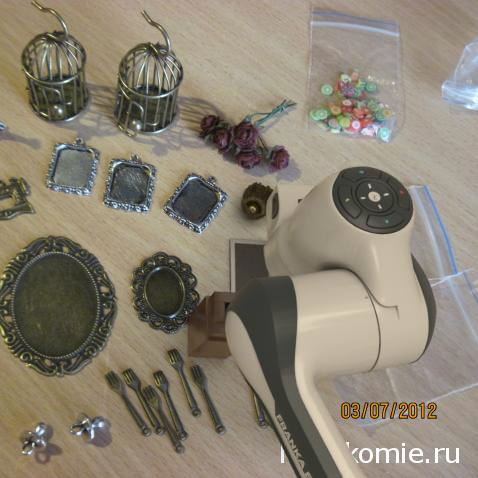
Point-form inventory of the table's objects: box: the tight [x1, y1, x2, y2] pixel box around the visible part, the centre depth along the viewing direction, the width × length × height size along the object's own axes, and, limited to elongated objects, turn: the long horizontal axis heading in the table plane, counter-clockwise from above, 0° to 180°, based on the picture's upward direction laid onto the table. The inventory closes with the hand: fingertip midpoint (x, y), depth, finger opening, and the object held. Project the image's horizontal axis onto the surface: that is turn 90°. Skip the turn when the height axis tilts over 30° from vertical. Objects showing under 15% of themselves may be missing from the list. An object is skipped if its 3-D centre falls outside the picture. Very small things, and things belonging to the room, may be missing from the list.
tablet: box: [229, 238, 269, 293], centre depth 118 cm, size 22×16×1 cm
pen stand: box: [187, 290, 237, 360], centre depth 102 cm, size 8×8×25 cm
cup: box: [240, 181, 274, 221], centre depth 121 cm, size 8×7×8 cm
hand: (270, 286), depth 74 cm, fingers open, 8 cm apart
